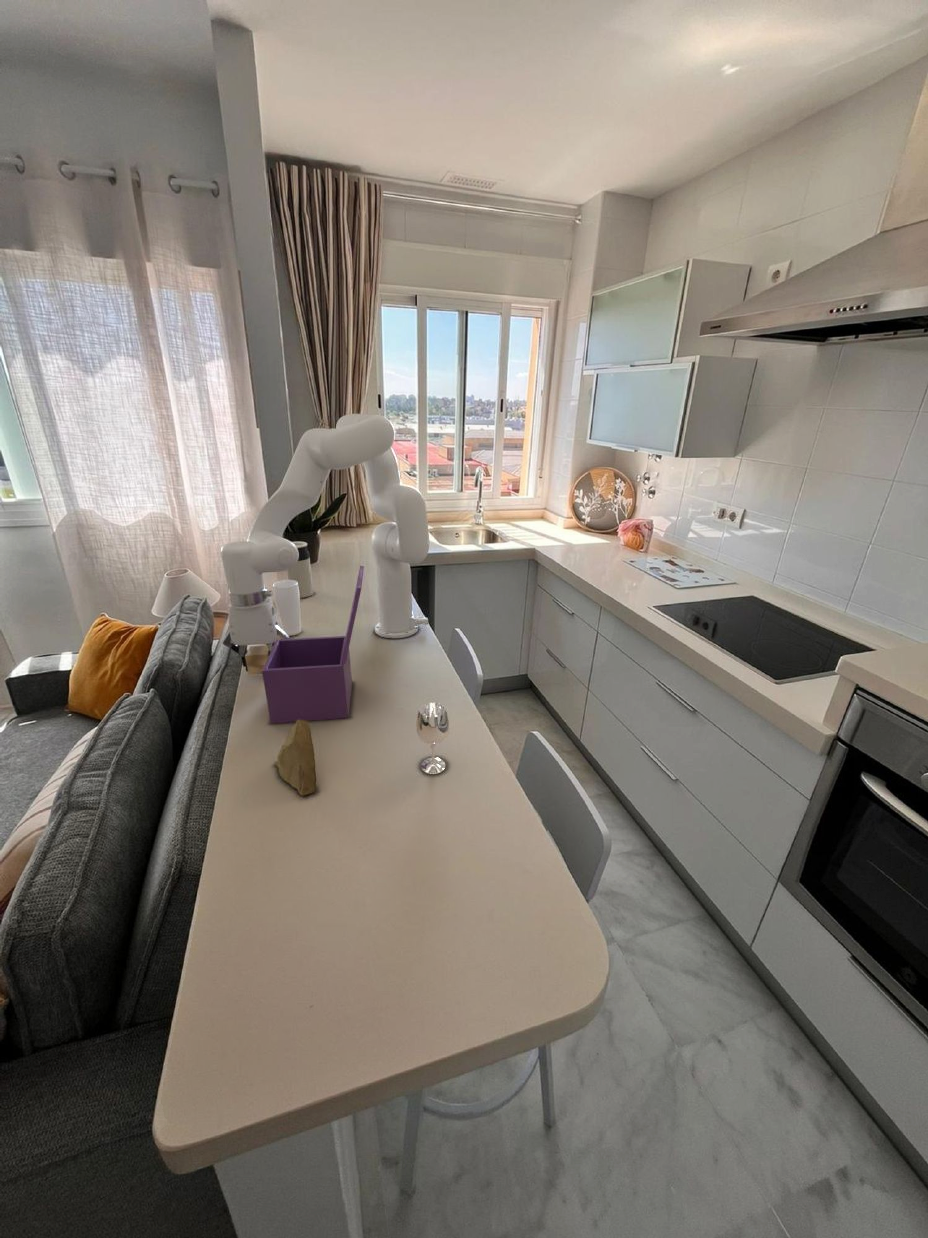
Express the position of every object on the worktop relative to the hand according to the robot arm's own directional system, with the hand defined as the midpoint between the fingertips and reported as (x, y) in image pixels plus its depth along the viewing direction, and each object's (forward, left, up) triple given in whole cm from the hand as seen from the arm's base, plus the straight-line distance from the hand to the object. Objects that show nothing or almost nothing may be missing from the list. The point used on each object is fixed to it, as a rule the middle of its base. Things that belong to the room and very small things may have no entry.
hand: (261, 667), depth 118 cm
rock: (-14, +38, -3) cm, 41 cm away
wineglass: (-38, +38, -3) cm, 54 cm away
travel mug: (-1, -59, -3) cm, 59 cm away
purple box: (-14, +13, -3) cm, 19 cm away
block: (0, 0, 0) cm, 0 cm away
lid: (-23, +13, +18) cm, 32 cm away
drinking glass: (-3, -26, -3) cm, 26 cm away
